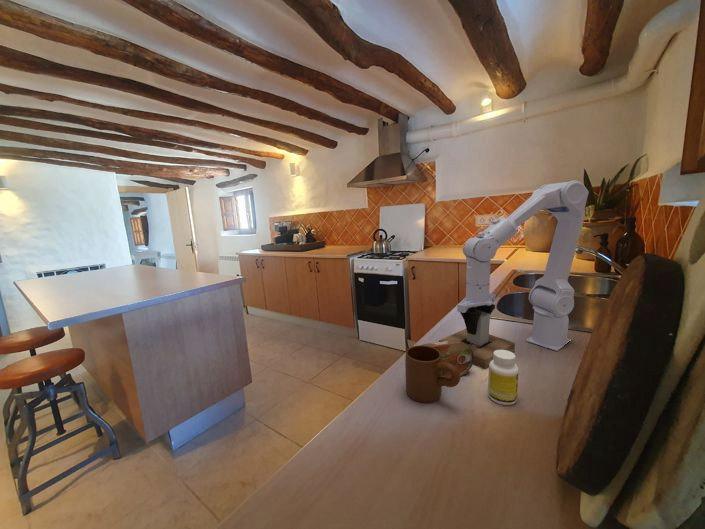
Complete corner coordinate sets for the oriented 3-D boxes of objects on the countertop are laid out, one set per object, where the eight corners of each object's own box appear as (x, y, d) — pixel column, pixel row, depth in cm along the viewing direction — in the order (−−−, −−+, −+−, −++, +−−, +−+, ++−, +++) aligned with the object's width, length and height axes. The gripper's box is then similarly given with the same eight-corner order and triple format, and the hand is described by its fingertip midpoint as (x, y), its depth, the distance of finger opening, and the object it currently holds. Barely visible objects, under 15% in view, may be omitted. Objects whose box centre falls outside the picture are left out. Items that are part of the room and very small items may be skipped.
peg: (475, 336, 82) (476, 309, 80) (488, 341, 79) (490, 313, 77) (466, 340, 80) (467, 313, 78) (479, 346, 77) (481, 317, 75)
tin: (414, 383, 67) (413, 350, 65) (409, 376, 70) (408, 343, 68) (474, 374, 69) (475, 341, 67) (467, 368, 72) (467, 336, 70)
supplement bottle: (520, 407, 57) (523, 361, 55) (491, 404, 58) (493, 360, 56) (511, 390, 62) (514, 348, 60) (484, 388, 63) (486, 347, 62)
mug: (468, 400, 60) (469, 359, 58) (449, 420, 55) (450, 375, 53) (418, 378, 68) (418, 341, 67) (398, 393, 63) (397, 353, 62)
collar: (468, 334, 90) (468, 327, 89) (514, 351, 78) (515, 342, 78) (438, 348, 82) (438, 340, 82) (485, 369, 71) (485, 360, 70)
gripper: (475, 291, 69) (473, 344, 72) (507, 280, 77) (504, 328, 80) (450, 286, 75) (450, 334, 78) (482, 276, 83) (481, 321, 86)
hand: (476, 331), depth 79 cm, fingers closed on peg, 4 cm apart
